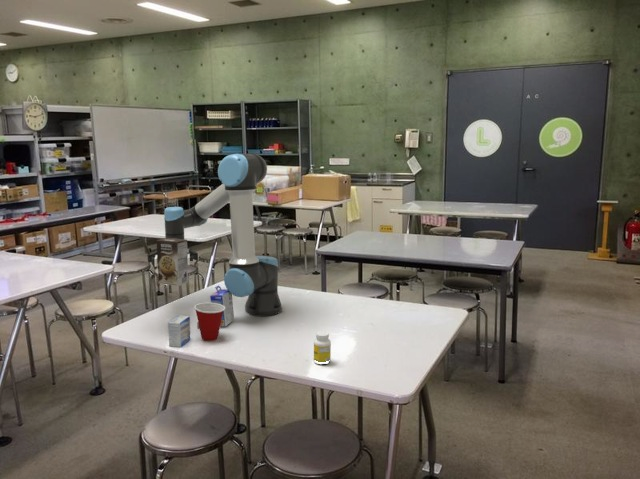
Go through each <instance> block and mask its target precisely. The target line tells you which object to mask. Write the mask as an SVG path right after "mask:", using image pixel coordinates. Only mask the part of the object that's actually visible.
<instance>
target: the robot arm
mask: <svg viewBox="0 0 640 479" xmlns="http://www.w3.org/2000/svg"><path fill="white" fill-rule="evenodd" d="M267 171H268V166H267V163H266V160H265V159H264V158H263V157H262V156H260V155H258V154H257V153H233V154H228V155H226V156H225V157H224V158H222V160H221V161H220V163H219V165H218V167H217V176H218V179H219V181H220V182H221V185H219V186H217V188H216V189H213V191H211V192H210V193H209V194H208V195H206V196H204V198H203V199H201V200H200V201H199V202H197V203H196V204H195V205H194V206H192V207H191V208H189V209H184V208H183V207H181V206H167V207H166V208H165V209H164V214H163V215H164V216H163V218H164V219H163V220H164V233H165V234H164V236H165V237H164V239H165V238H175V239H185V229H187V228H188V229H189V228H192V227H193V228H194V227H200V226H202V225H204V224H206V223H207V222H208V220H209V218H210V217H211V216H213V215H214V214H215V213H217V212H219V211H220V209H222V208H223V207H225V206H226V205H227V204H229V211H230V230H231V247H232V251H231V252H232V258H230V260H229V261H228V264H229V266H228V267H229V269H228V270H227V271H226V273H225V274H224V277H223V282H224V286H225V289H227V290H228V291H230V293H231V294H232V296H234V297H237V298H244V297H247V299H246V302H245V305H244V307H245V308H244V311H245V313H246V314H248V315H251V316H255V317H269V316H268V315H271V316H274V315H273V314H275V315H277V314H276V313H278V312H280V311H281V310H282V308H283V307H282V301H281V299H280V296H279V293H278V290H279V289H278V288H279V287H278V285H279V284H278V283H279V277H278V276H279V275H278V274H279V273H278V272H279V265H278V264H279V262H278V259H277V258H276V257H274V256H268V255H256V247H255V246H256V245H255V225H254V224H255V223H254V206H253V204H254V203H253V202H254V201H253V194H254V192H255V191H256V190H257V185H259V184H260V183H261V182H262V181H263V180H264V179H265V178H266V176H267V173H268V172H267ZM187 254H188V255H187V261H188V266H190V265H191V263H190V262H194V261H198V260H199V253H198V252H196V251H195V250H193V249H192V248H188V249H187ZM147 262H148V263H152V265H154V267H157V268H158V259H157V249H155V250H154V251H152V252H151V253H149V254H147ZM281 312H282V311H281ZM281 312H280V313H281ZM278 314H279V313H278Z"/></svg>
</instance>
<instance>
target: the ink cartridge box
mask: <svg viewBox="0 0 640 479" xmlns="http://www.w3.org/2000/svg"><path fill="white" fill-rule="evenodd" d="M214 288H215V289H216V291H215V292H214V293H213V294H211V295H210V297H209V298H210V303H218V304H221V305H223V306H225V310H224V311H223V315H222V319H221V325H220V327H226V326H227V325H228V324H230V323H231V322H233V321H234V320H235V314H234V313H235V312H234V311H235V310H234V301H233V295H232V294H231V293H230V291H228V290H227V288H224V289H223V288H222V287H221V286H220V285H219V284H218V285H216V286H215V287H214Z"/></svg>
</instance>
